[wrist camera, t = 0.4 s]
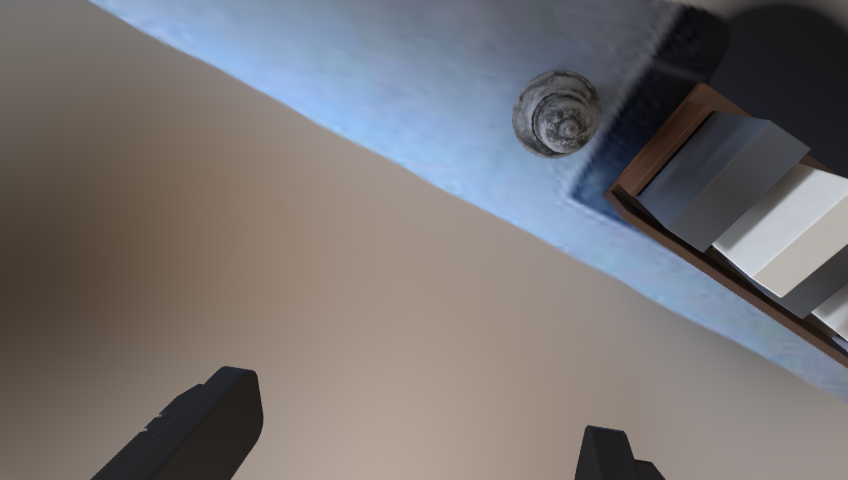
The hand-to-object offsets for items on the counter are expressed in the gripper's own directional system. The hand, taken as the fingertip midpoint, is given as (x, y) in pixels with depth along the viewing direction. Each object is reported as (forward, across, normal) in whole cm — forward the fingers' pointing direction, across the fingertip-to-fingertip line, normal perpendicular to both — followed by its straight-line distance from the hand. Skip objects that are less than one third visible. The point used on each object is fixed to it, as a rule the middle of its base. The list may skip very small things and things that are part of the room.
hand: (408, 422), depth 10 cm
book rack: (+27, -21, +2) cm, 35 cm away
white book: (+26, -17, -1) cm, 31 cm away
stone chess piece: (+28, -5, -5) cm, 28 cm away
